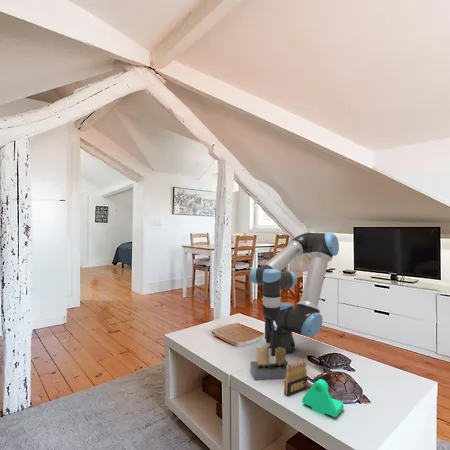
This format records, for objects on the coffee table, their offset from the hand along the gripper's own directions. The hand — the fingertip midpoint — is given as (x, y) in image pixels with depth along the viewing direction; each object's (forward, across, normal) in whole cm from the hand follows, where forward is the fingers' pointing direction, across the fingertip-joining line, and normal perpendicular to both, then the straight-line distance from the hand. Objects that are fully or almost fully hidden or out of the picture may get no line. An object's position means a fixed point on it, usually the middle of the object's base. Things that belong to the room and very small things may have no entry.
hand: (270, 360), depth 130 cm
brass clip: (+6, 0, 0) cm, 6 cm away
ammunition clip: (+6, +14, +6) cm, 17 cm away
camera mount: (+7, +25, +12) cm, 28 cm away
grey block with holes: (+6, 0, 0) cm, 6 cm away
